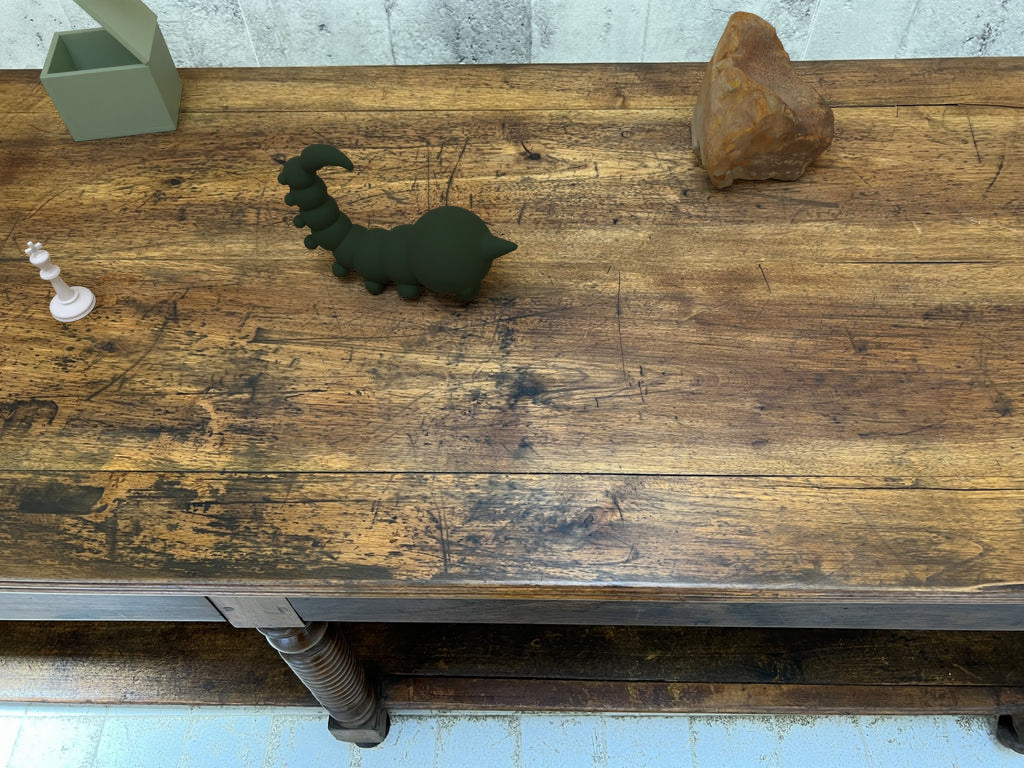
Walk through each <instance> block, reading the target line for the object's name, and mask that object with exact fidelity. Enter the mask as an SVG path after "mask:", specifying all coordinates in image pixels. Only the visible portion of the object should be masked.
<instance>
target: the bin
mask: <svg viewBox="0 0 1024 768" xmlns="http://www.w3.org/2000/svg"><path fill="white" fill-rule="evenodd" d="M39 80H40V82H41V83H42V85H43V87H44V89H45V91H46V92H47V94H48V96H49V98H50V100H51V102H52V103H53V105H54V106H55V109H56V110H57V112H58V114H59V115H60V117H61V119H62V121H63V123H64V125H65V126H66V128H67V130H68V132H69V133H70V136H71V137H72V138H73V140H74V142H77V143H78V142H86V141H93V140H102V139H103V140H104V139H111V138H120V137H128V136H129V137H130V136H138V135H145V134H155V133H164V132H172V131H177V127H178V120H179V114H180V108H181V99H182V94H183V86H184V84H183V82H182V78H181V77H180V74H179V71H178V69H177V66H176V65H175V61H174V59H173V57H172V55H171V52H170V49H169V47H168V44H167V42H166V40H165V37H164V35H163V32H162V29H161V27H160V25H159V22H158V21H157V23H156V28H155V33H154V38H153V44H152V49H151V54H150V59H149V62H148V63H146V64H143V63H142V62H141V61H140V60H139V59H138V58H137V57H136V56H135V55H133V54H132V53H131V52H130V51H129V50H128V49H127V48H126V47H124V46H123V45H122V44H121V43H120V42H119V41H118V40H117V39H115V38H114V37H113V36H112V35H111V34H110V33H109V32H108V31H107V30H105V29H104V28H103V27H102V26H101V27H91V28H90V27H89V28H82V29H81V28H80V29H72V30H71V29H70V30H63V31H55V32H53V36H52V38H51V41H50V45H49V48H48V51H47V54H46V57H45V59H44V63H43V66H42V69H41V73H40V75H39Z"/></svg>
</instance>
